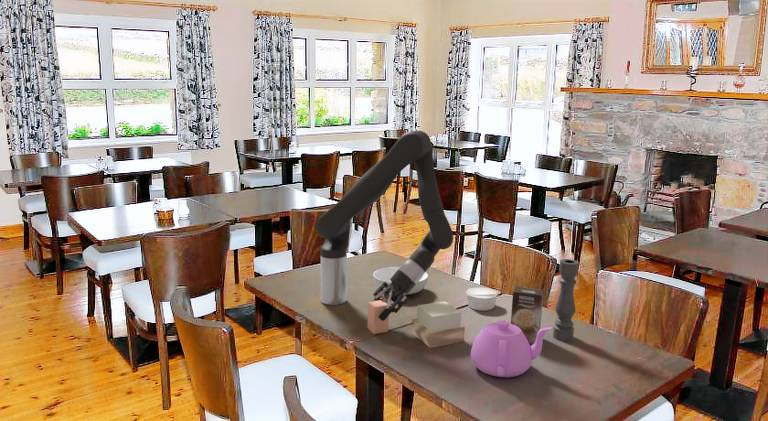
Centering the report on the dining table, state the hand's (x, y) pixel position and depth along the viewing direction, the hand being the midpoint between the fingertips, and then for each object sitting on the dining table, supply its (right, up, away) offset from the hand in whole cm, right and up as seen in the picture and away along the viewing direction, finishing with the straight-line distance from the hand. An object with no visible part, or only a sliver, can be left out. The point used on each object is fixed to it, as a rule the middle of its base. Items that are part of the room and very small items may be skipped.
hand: (375, 314), depth 200 cm
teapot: (+38, -12, -23) cm, 46 cm away
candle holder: (+60, -7, -1) cm, 60 cm away
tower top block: (+20, -2, -5) cm, 20 cm away
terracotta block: (+1, -5, +2) cm, 6 cm away
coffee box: (+47, -7, -3) cm, 48 cm away
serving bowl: (+9, +2, +38) cm, 39 cm away
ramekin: (+38, -1, +24) cm, 45 cm away
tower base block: (+20, -7, -3) cm, 21 cm away
